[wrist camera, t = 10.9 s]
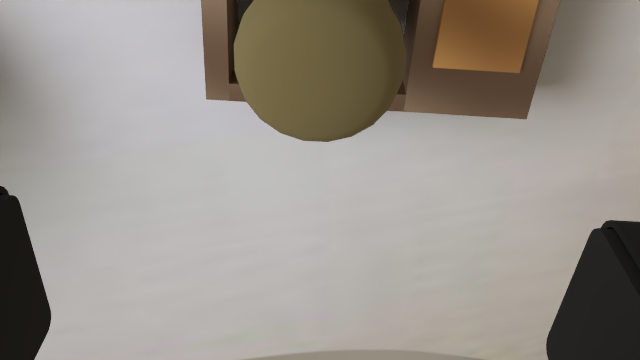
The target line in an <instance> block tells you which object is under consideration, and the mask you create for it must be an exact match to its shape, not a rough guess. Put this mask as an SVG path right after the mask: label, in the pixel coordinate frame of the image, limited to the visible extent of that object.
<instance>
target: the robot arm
mask: <svg viewBox="0 0 640 360" xmlns="http://www.w3.org/2000/svg"><path fill="white" fill-rule="evenodd" d="M50 322H51V311H50V307H49V303H48V300H47V296H46V293H45V289H44V286H43V282H42V279H41V275H40V272H39V268H38V265H37V261H36V258H35V255H34V251H33V248H32V244H31V241H30V237H29V234H28V230H27V227H26V223H25V220H24V216H23V213H22V210H21V206H20V203H19V200H18V199H17V198H16V196H13V195H9V193H8V191H7V190H6V189H5V188H4V187H2V186H0V360H34V359H35V357H36V355H37V353H38V351H39V349H40V347H41V345H42V343H43V341H44V339H45V337H46V335H47V333H48V330H49V327H50ZM546 350H547V356H548V359H549V360H640V222H632V221H614V220H610V221H606V222H605V223H604V224H603V225H602V227H601V228H597V229H594V230H593V231H592V232H591V234H590V236H589V238H588V240H587V243H586V245H585V248H584V250H583V252H582V255H581V257H580V260H579V262H578V265H577V267H576V269H575V272H574V274H573V277H572V279H571V281H570V284H569V286H568V289H567V291H566V293H565V296H564V298H563V301H562V303H561V305H560V308H559V310H558V313H557V315H556V318H555V320H554V322H553V325H552V327H551V330H550V332H549V334H548V338H547V344H546Z"/></svg>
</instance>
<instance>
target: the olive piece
mask: <svg viewBox="0 0 640 360" xmlns="http://www.w3.org/2000/svg"><path fill="white" fill-rule="evenodd" d="M389 2H390V0H253V2H252V3H251V4H250V6H249V7H248V9H247V10H246V11H245V13H244V15H243V17H242V19H241V23H240V26H239V29H238V32H237V35H236V39H235V42H234V68H235V74H236V77H237V80H238V83H239V85H240V88H241V91H242V93H243V96H244V99H245V100H246V102H247V103H248V104H249V105H250V107H251V108H252V109H253V110H254V112H255V113H256V114H257V116H258V117H259V118H260V119H261V120H263V121H264V122H265V123H267V124H268V125H270V126H271V127H273V128H274V129H276V130H277V131H278V132H280V133H283V134H286V135H288V136H291V137H294V138H297V139H300V140H303V141H322V142H329V141H333V140H338V139H342V138H347V137H351V136H353V135H355V134H357V133H359V132H361V131H362V130H364V129H366V128H368V127H370V126H372V125H373V124H374V123H375V122H376V121H377V120H378V119H379V118H380V117H381V116H382V115H383V114H384V113H385V112H386V111H387V110H388V109H389V108H390V106H391V104H392V102H393V100H394V98H395V96H396V94H397V92H398V90H399V88H400V86H401V83H402V81H403V77H404V69H405V62H406V55H407V53H406V48H405V43H404V38H403V33H402V28H401V25H400V22H399V20H398V18H397V16H396V15H395V13H394V11H393V10H392V8H391V6H390V5H389Z"/></svg>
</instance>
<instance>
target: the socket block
mask: <svg viewBox="0 0 640 360" xmlns="http://www.w3.org/2000/svg"><path fill="white" fill-rule="evenodd" d="M559 3H560V0H409V6H408V13H407V20H406V27H405V34H404V43H405V48H406V53H407V55H406V62H405V69H404V77H403V81H402V83H401V86H400V88H399V90H398V92H397V94H396V96H395V98H394V100H393V102H392V104H391V106H390V108H389V109H388V111H404V112H420V113H436V114H452V115H468V116H484V117H500V118H517V119H527V115H528V112H529V108H530V105H531V101H532V98H533V94H534V91H535V87H536V84H537V80H538V77H539V73H540V70H541V66H542V63H543V59H544V56H545V52H546V49H547V45H548V41H549V38H550V34H551V31H552V27H553V24H554V20H555V17H556V13H557V10H558V6H559ZM201 7H202V26H203V45H204V64H205V83H206V99H211V100H227V101H243V102H246V100H245V99H244V96H243V93H242V91H241V88H240V85H239V83H238V80H237V77H236V74H235V68H234V42H235V39H236V35H237V32H238V14H237V0H201Z"/></svg>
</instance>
